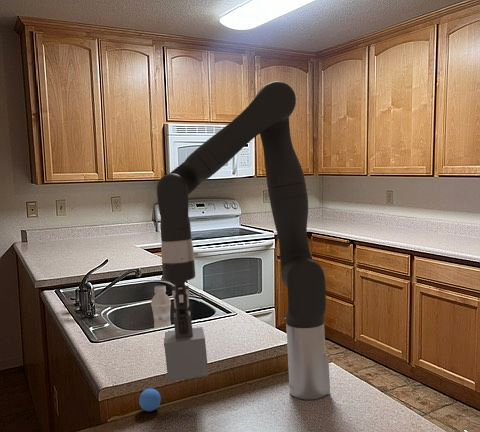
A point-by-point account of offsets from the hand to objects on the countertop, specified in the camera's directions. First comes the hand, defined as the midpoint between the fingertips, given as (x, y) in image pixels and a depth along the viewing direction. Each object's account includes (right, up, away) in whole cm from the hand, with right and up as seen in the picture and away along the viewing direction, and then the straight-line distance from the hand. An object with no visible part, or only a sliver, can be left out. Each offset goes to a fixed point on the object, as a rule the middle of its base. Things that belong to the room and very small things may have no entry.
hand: (183, 330), depth 109 cm
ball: (-8, -16, -1) cm, 18 cm away
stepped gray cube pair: (+1, -10, 0) cm, 10 cm away
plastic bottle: (-12, -17, +47) cm, 51 cm away
